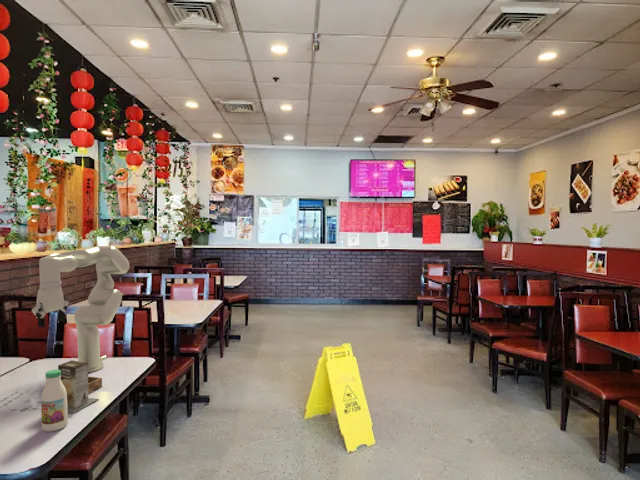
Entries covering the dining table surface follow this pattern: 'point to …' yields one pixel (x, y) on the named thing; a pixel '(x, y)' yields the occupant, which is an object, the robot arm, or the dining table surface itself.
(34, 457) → the dining table surface
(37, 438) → the dining table surface
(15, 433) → the dining table surface
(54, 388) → the milk bottle
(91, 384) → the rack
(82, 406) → the mat
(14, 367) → the dining table surface
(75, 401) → the coffee box
